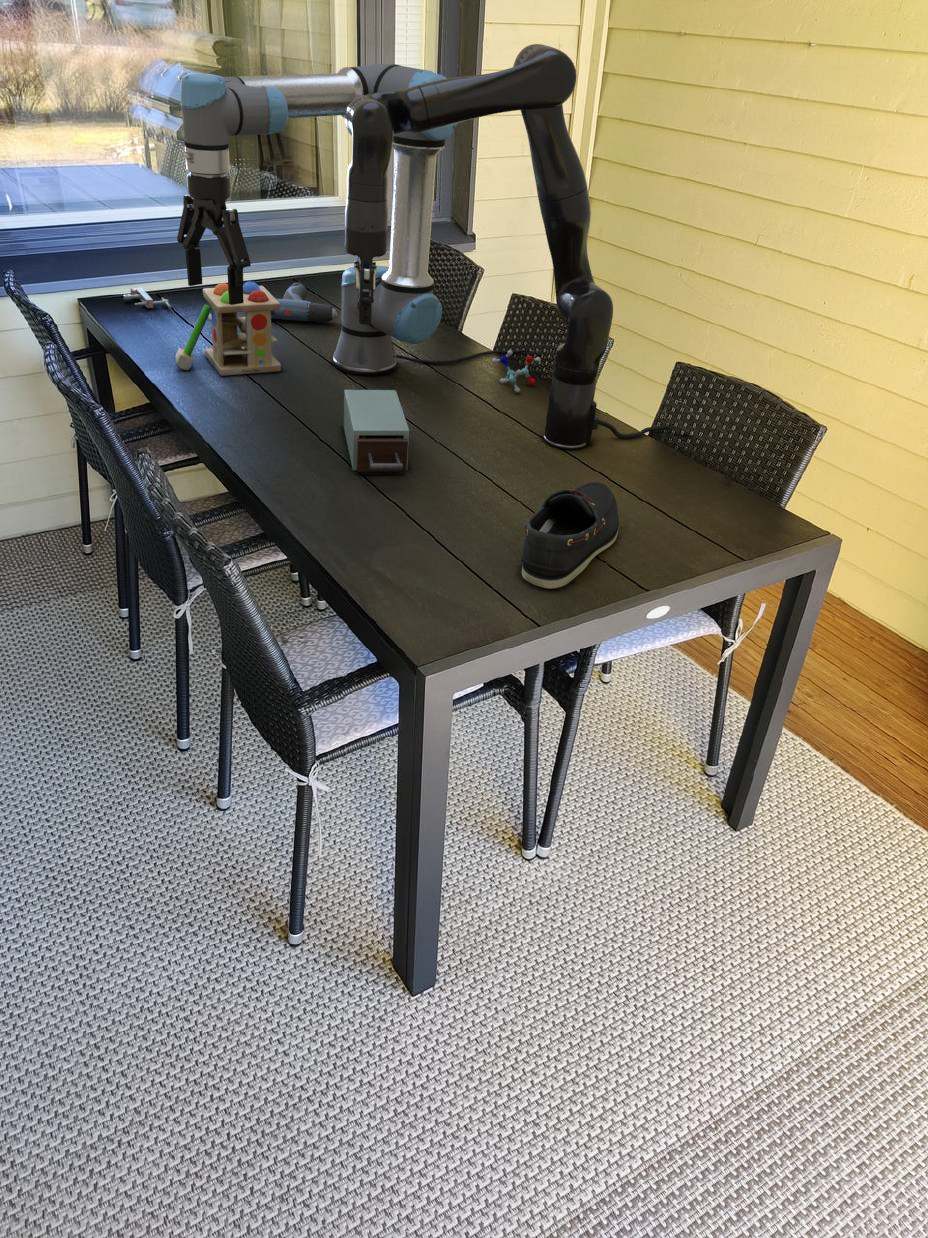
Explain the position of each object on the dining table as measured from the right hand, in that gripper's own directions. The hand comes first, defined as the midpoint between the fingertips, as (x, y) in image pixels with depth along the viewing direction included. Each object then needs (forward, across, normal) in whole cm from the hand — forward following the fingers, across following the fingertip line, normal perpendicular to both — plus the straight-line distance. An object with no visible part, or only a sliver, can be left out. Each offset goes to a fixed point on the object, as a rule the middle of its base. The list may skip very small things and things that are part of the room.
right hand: (364, 316), depth 182 cm
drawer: (+26, -4, -3) cm, 27 cm away
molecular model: (+27, +39, -38) cm, 61 cm away
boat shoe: (+27, -37, -35) cm, 58 cm away
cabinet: (+27, +2, -3) cm, 28 cm away
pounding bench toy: (+27, +46, +30) cm, 61 cm away
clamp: (+27, +89, +54) cm, 107 cm away
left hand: (0, +10, +28) cm, 29 cm away
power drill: (+27, +88, +12) cm, 92 cm away
